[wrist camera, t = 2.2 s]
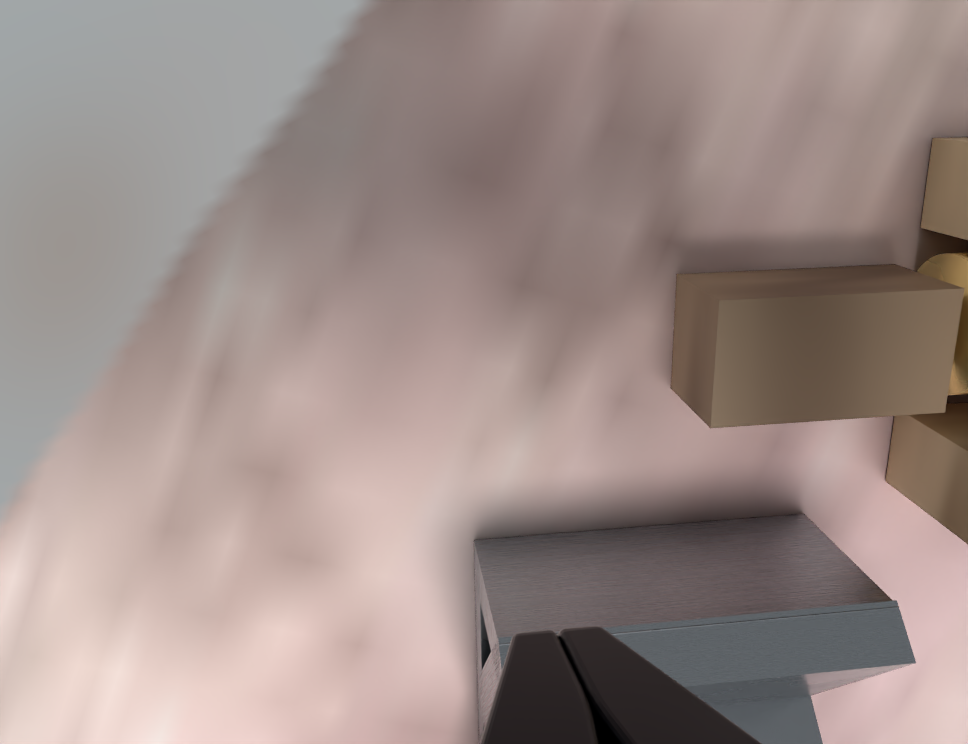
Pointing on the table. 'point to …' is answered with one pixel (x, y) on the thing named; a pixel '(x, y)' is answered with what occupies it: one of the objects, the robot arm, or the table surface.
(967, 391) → the axle
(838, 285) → the block
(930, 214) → the bearing block
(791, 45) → the table surface
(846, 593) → the v block
